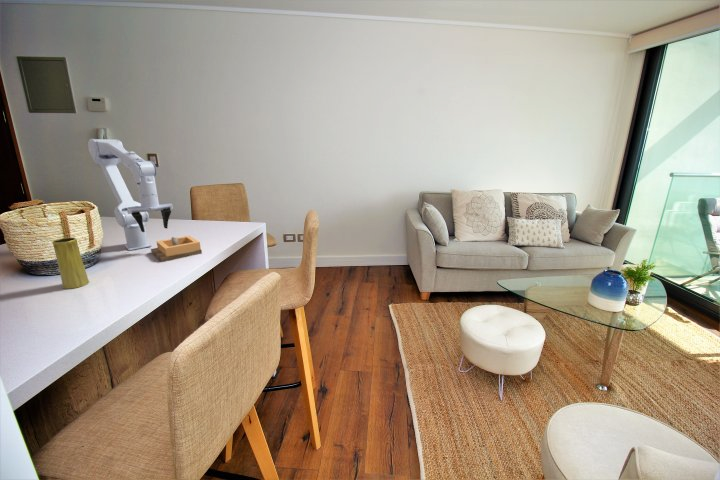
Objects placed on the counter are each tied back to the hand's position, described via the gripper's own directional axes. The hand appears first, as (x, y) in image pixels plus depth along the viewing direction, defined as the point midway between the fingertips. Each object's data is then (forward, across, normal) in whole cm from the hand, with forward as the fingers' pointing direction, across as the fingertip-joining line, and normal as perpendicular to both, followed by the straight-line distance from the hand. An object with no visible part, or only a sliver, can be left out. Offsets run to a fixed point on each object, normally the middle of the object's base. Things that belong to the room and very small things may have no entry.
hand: (154, 229), depth 122 cm
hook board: (+9, +5, -5) cm, 12 cm away
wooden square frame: (+8, +6, -5) cm, 11 cm away
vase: (+10, -26, -16) cm, 32 cm away
